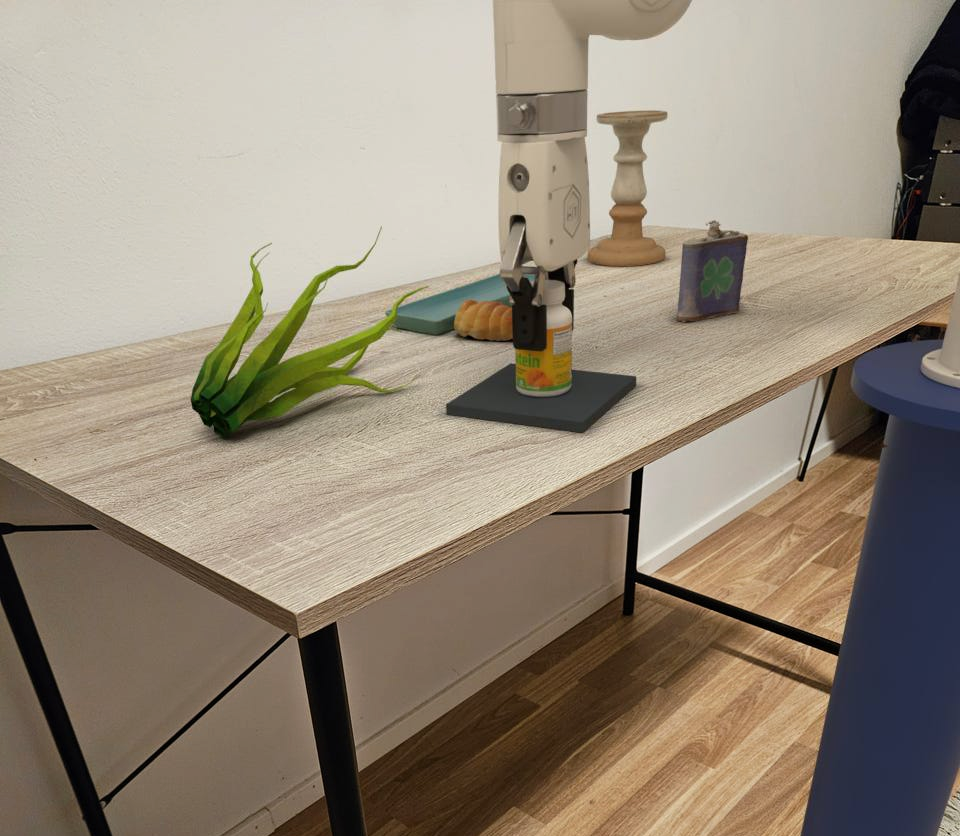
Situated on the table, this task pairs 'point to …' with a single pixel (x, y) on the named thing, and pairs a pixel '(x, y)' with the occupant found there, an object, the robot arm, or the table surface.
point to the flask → (711, 274)
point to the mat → (543, 400)
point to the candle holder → (628, 193)
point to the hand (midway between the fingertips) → (543, 338)
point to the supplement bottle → (548, 350)
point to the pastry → (484, 320)
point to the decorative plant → (276, 361)
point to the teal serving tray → (449, 305)
